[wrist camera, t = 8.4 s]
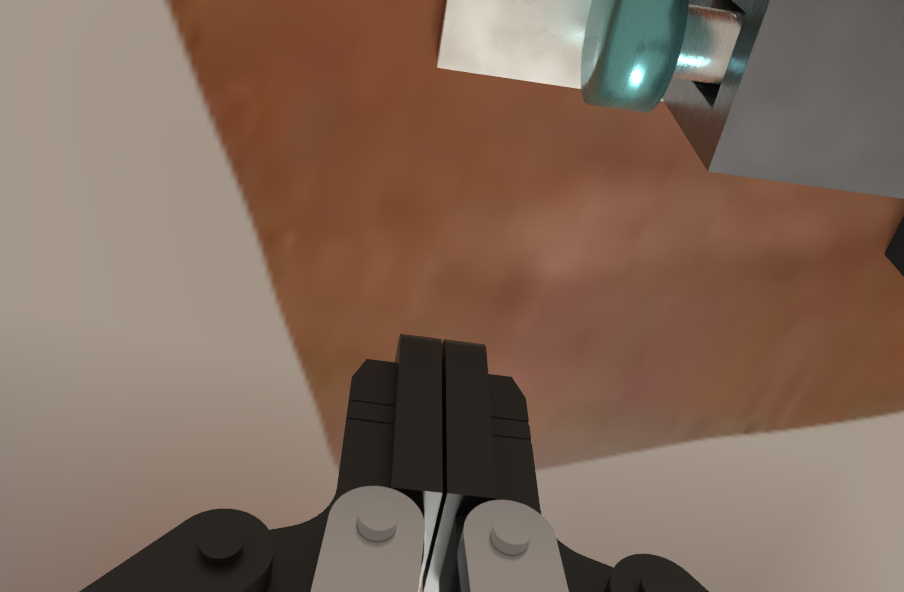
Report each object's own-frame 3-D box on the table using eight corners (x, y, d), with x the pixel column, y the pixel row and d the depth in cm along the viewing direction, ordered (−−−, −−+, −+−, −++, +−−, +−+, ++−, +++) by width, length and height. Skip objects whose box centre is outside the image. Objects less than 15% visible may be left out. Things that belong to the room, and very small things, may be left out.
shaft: (969, -4, 30) (1054, 39, 26) (905, 124, 33) (973, 182, 29) (607, -66, 29) (638, -30, 25) (573, 74, 32) (595, 127, 28)
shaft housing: (909, -56, 32) (1037, 3, 25) (834, 118, 36) (926, 208, 29) (466, -133, 30) (477, -92, 23) (436, 58, 34) (439, 141, 27)
